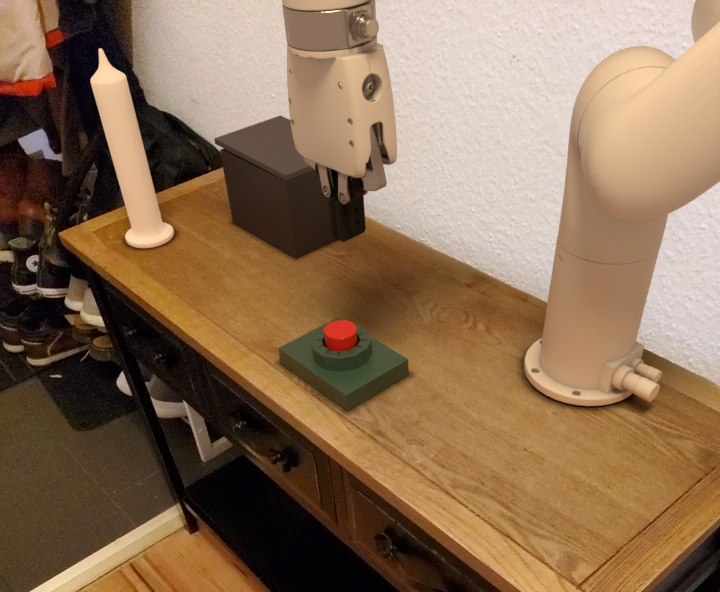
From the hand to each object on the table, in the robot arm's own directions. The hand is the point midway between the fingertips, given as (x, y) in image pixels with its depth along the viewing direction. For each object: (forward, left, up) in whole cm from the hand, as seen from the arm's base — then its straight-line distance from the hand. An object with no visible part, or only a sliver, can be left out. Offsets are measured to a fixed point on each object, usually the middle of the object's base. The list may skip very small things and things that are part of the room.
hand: (348, 234), depth 74 cm
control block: (0, +2, -16) cm, 16 cm away
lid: (+33, -16, -5) cm, 37 cm away
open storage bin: (+32, -16, -16) cm, 39 cm away
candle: (+45, +1, -16) cm, 48 cm away
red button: (0, +2, -12) cm, 12 cm away
